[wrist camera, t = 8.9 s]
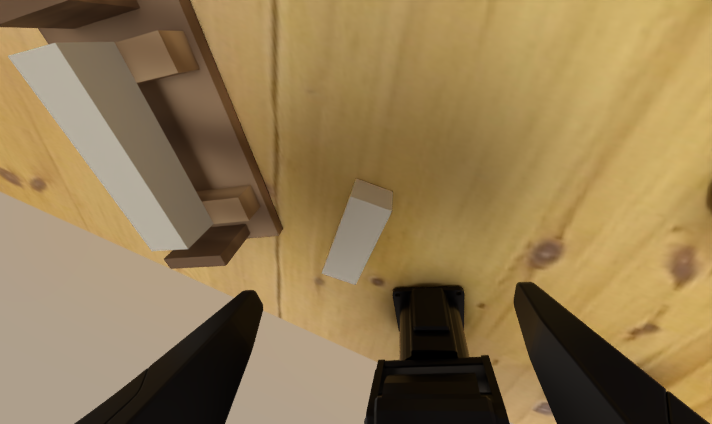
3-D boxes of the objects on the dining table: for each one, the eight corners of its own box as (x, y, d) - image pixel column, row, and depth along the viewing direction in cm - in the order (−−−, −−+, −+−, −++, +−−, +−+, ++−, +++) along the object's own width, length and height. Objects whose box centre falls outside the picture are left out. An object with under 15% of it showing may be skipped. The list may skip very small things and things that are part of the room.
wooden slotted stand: (282, 228, 24) (258, 268, 20) (188, 236, 26) (148, 274, 22) (175, -36, 15) (87, -64, 11) (43, 10, 17) (-73, 1, 13)
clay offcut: (355, 284, 23) (359, 260, 25) (392, 211, 18) (393, 190, 21) (321, 273, 23) (329, 249, 25) (350, 196, 18) (356, 176, 21)
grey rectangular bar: (213, 223, 21) (188, 248, 18) (180, 226, 21) (151, 251, 19) (114, 41, 15) (55, 42, 12) (71, 52, 15) (7, 56, 13)
